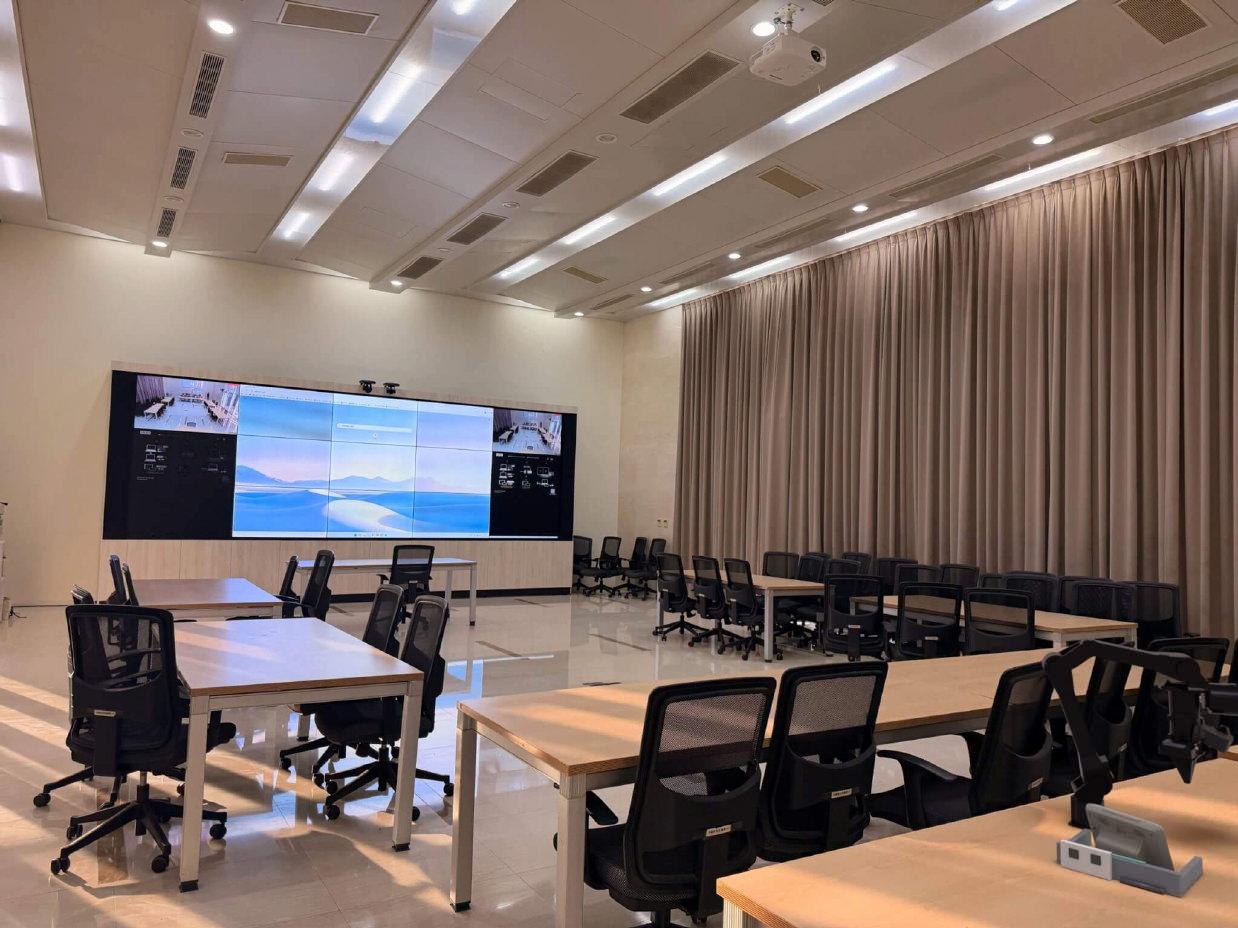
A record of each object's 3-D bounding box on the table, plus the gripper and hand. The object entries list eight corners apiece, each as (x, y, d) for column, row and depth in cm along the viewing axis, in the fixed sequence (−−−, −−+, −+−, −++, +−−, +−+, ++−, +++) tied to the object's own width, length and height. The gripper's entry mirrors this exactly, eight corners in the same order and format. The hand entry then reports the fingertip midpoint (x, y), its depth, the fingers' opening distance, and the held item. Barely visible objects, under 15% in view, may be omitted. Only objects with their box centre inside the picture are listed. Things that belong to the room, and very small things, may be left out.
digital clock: (1181, 881, 162) (1179, 824, 163) (1143, 885, 160) (1141, 828, 161) (1113, 849, 178) (1111, 798, 179) (1078, 853, 176) (1076, 801, 177)
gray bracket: (1054, 864, 169) (1053, 839, 170) (1085, 842, 182) (1084, 818, 182) (1177, 899, 154) (1176, 871, 154) (1202, 872, 166) (1201, 846, 166)
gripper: (1217, 724, 174) (1220, 801, 173) (1238, 711, 187) (1241, 783, 186) (1156, 715, 183) (1158, 788, 181) (1180, 703, 195) (1183, 772, 194)
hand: (1187, 783), depth 185 cm, fingers closed
